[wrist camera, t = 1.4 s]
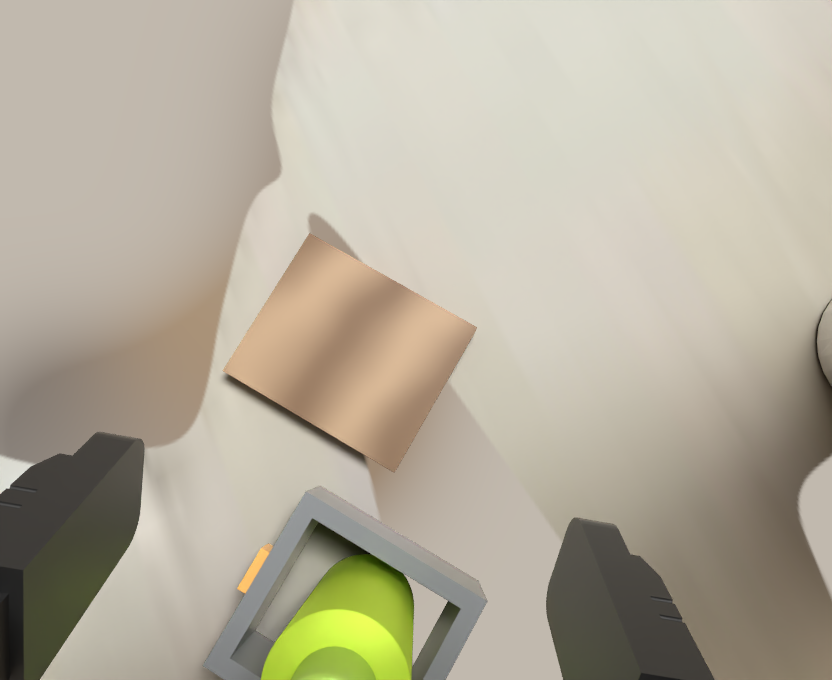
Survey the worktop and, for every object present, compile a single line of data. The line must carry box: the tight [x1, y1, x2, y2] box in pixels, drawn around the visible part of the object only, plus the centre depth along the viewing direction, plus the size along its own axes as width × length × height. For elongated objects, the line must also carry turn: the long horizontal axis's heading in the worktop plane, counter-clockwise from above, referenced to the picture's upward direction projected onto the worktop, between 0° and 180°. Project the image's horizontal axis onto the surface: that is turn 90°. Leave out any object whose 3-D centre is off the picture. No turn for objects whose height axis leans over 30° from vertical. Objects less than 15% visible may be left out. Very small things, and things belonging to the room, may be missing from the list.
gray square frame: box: [203, 486, 487, 680], centre depth 35 cm, size 12×10×5 cm
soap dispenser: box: [261, 554, 414, 680], centre depth 28 cm, size 6×7×20 cm
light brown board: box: [223, 233, 477, 472], centre depth 39 cm, size 12×10×2 cm
